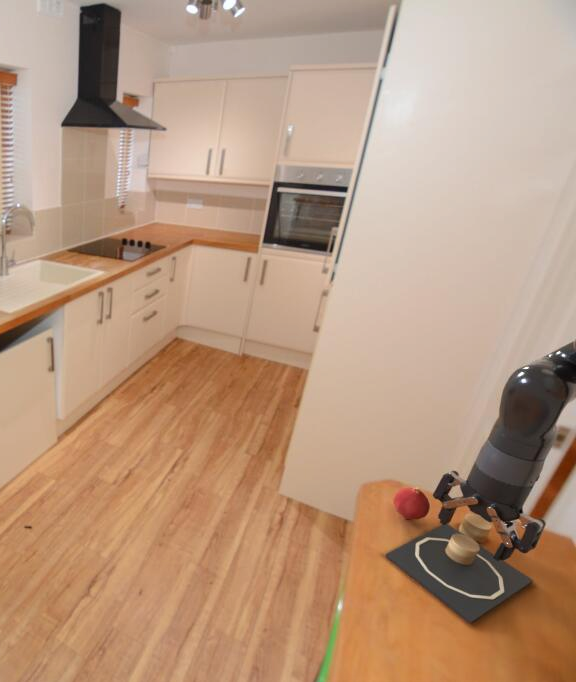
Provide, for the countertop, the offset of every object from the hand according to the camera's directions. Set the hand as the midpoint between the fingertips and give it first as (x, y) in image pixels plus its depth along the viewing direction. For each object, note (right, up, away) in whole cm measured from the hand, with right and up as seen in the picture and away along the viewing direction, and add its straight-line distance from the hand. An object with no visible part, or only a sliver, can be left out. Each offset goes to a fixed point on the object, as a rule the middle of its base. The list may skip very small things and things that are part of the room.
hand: (470, 539), depth 82 cm
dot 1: (+7, -2, +7) cm, 10 cm away
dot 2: (-1, -4, +2) cm, 4 cm away
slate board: (-2, -5, 0) cm, 6 cm away
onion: (-3, 0, +11) cm, 12 cm away
